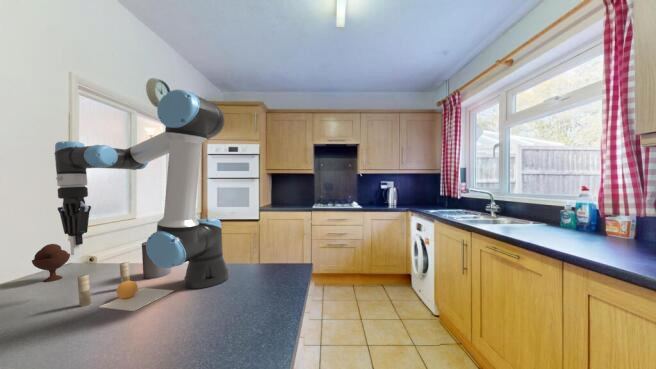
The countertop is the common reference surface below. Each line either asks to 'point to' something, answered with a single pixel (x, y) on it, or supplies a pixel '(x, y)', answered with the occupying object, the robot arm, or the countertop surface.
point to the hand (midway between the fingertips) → (77, 253)
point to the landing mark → (137, 299)
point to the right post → (124, 272)
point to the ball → (126, 289)
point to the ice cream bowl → (51, 260)
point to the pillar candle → (152, 266)
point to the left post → (84, 290)
